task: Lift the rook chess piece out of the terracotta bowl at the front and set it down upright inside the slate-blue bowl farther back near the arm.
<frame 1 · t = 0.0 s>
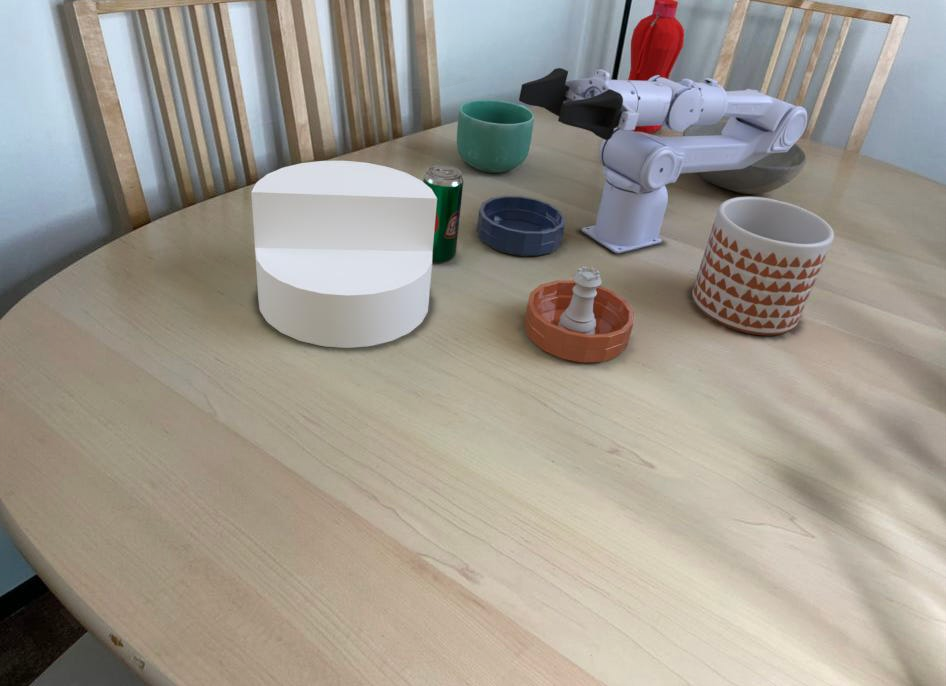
hand: (541, 102, 89), 22 cm above the table, tool horizontal, fingers open, 7 cm apart
planter: (742, 309, 98), on the table
stepped white cylinder: (345, 300, 89), on the table
soda can: (436, 257, 100), on the table
rook chess piece: (575, 332, 88), resting on terracotta bowl
mug: (496, 163, 131), on the table
terracotta bowl: (575, 334, 88), on the table
bowl: (731, 185, 134), on the table
slate bowl: (518, 237, 107), on the table
water bottle: (634, 129, 155), on the table
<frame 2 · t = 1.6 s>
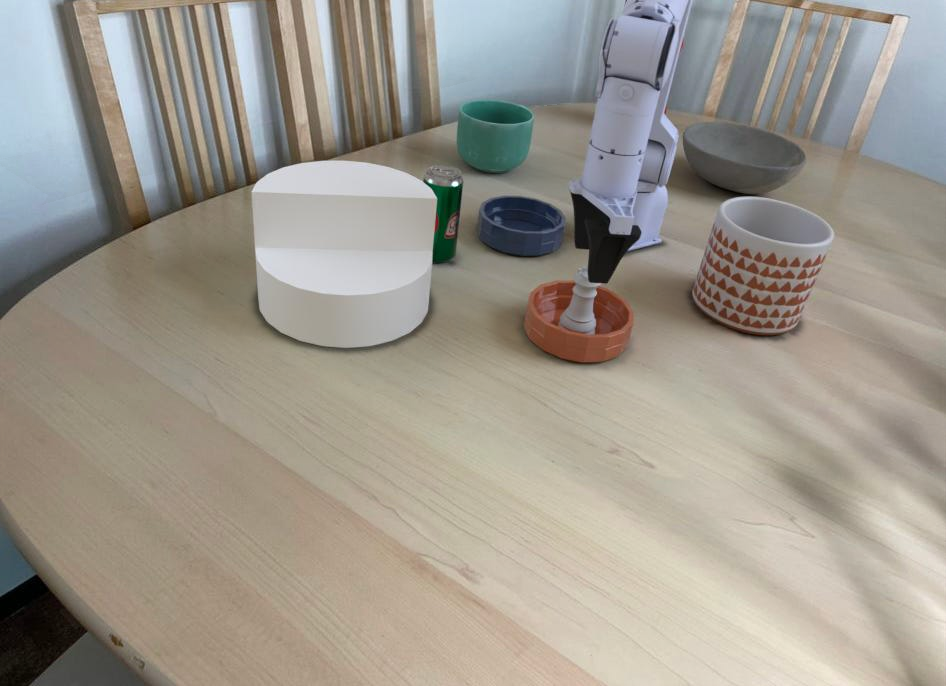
hand: (590, 264, 83), 9 cm above the table, tool pointing down, fingers open, 7 cm apart
nothing on the table moved.
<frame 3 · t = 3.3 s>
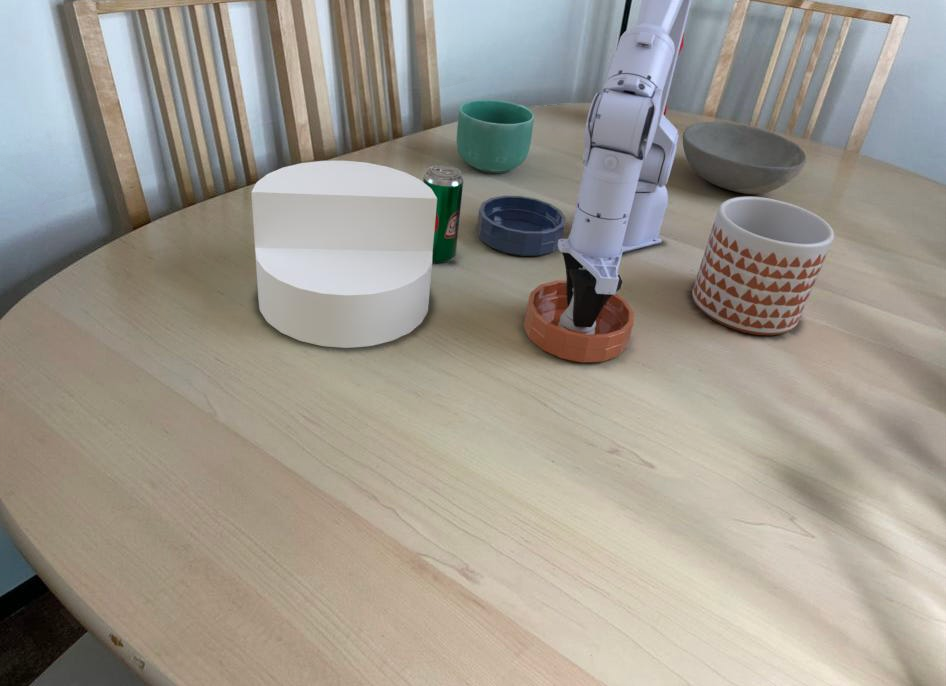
hand: (579, 315, 86), 3 cm above the table, tool pointing down, fingers closed on rook chess piece, 3 cm apart
rook chess piece: (575, 332, 88), resting on terracotta bowl, touching gripper
everything else where it was.
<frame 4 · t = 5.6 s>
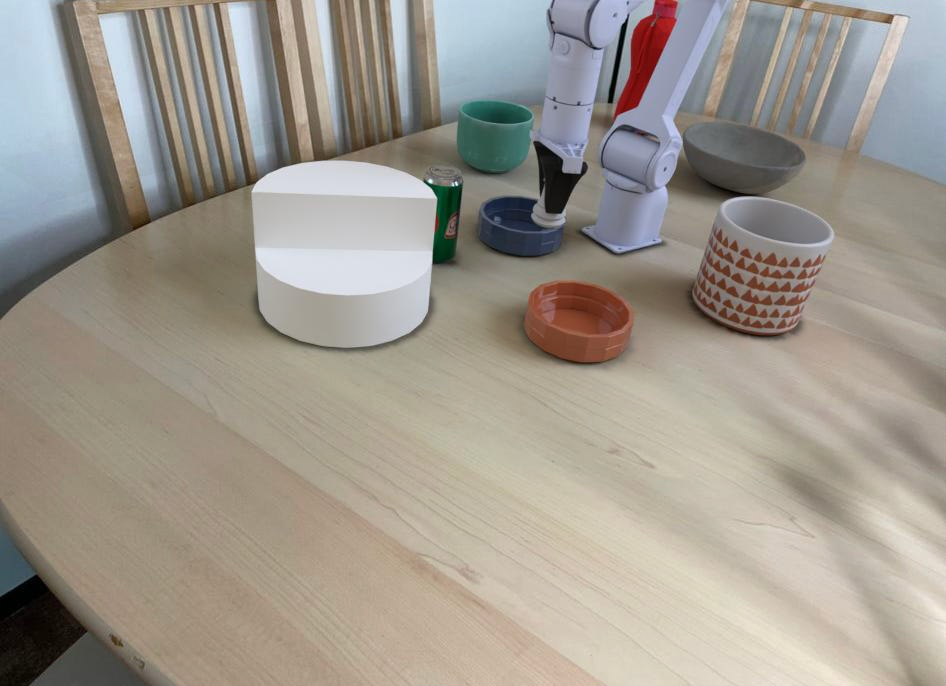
hand: (550, 205, 94), 10 cm above the table, tool pointing down, fingers closed on rook chess piece, 3 cm apart
rook chess piece: (547, 222, 96), point 7 cm above the table, touching gripper
everything else where it was.
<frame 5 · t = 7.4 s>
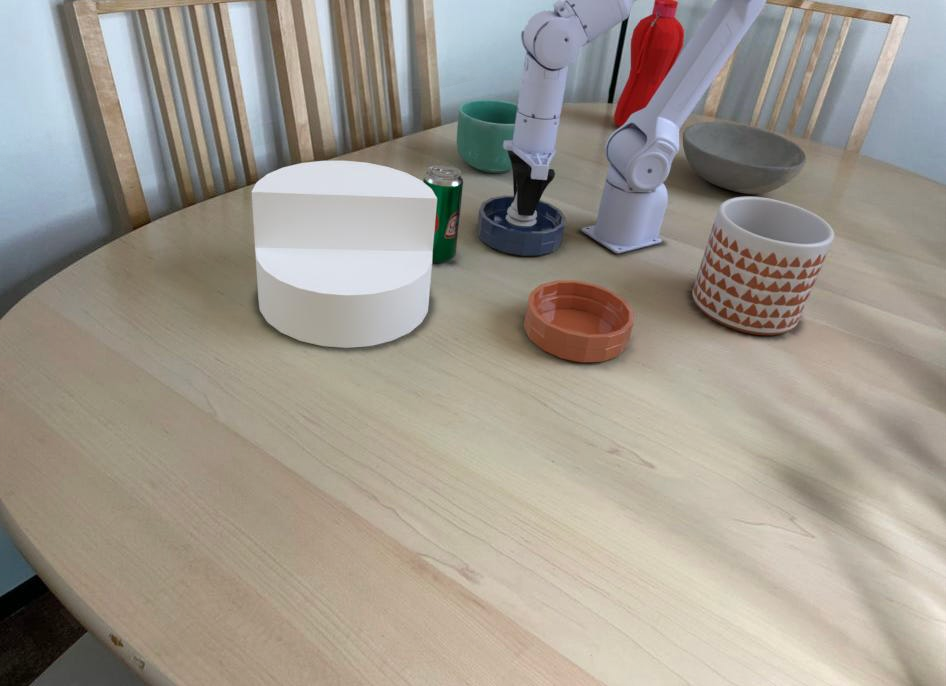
hand: (523, 208, 105), 5 cm above the table, tool pointing down, fingers closed on rook chess piece, 3 cm apart
rook chess piece: (520, 223, 106), point 2 cm above the table, touching gripper
everything else where it was.
when the fingers open (3 cm above the table, at t = 8.4 s): rook chess piece stays where it is, resting on slate bowl.
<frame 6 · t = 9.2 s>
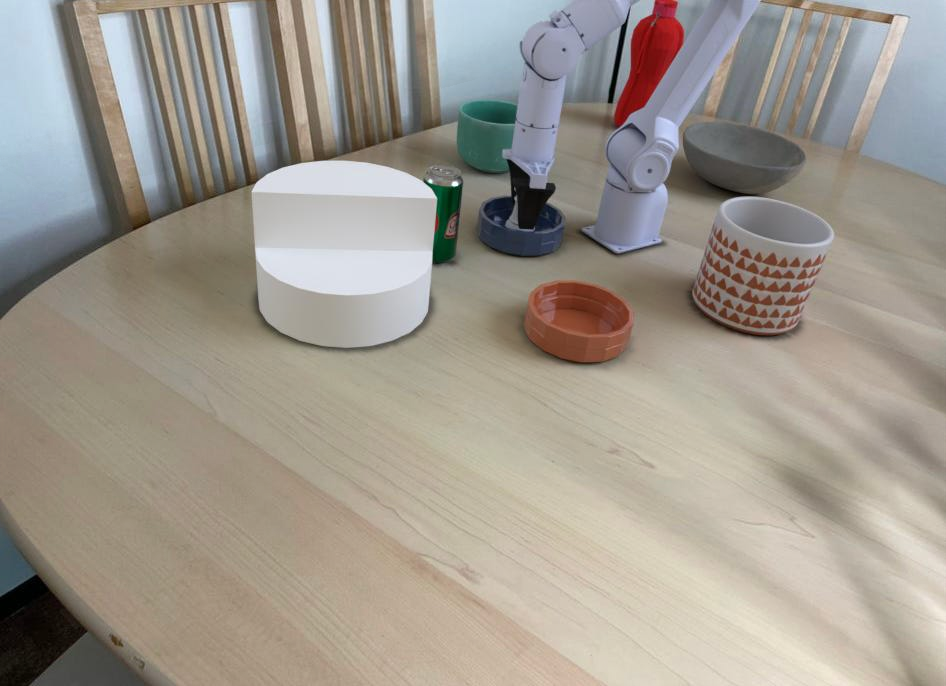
hand: (522, 216, 105), 3 cm above the table, tool pointing down, fingers open, 7 cm apart
rook chess piece: (518, 236, 107), resting on slate bowl
everything else where it was.
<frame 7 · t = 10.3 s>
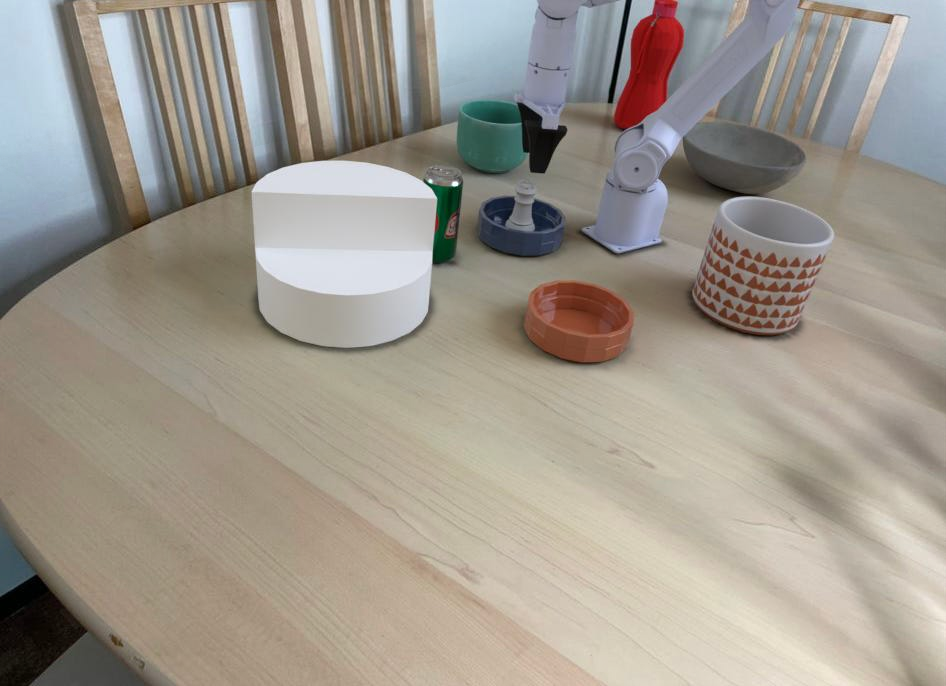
hand: (533, 162, 107), 9 cm above the table, tool pointing down, fingers open, 7 cm apart
nothing on the table moved.
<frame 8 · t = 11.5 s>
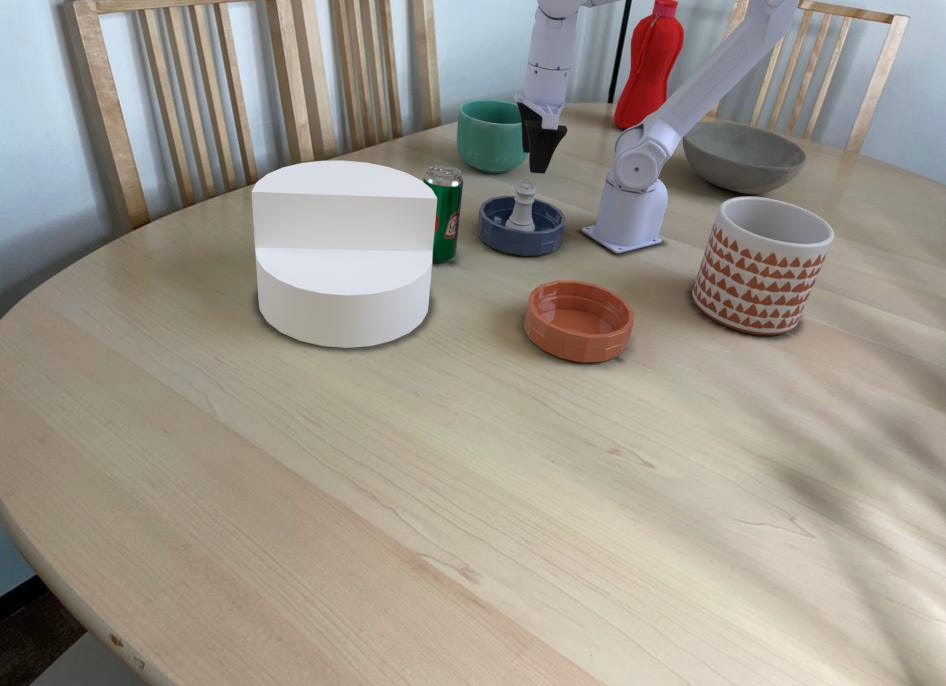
hand: (533, 162, 107), 9 cm above the table, tool pointing down, fingers open, 7 cm apart
nothing on the table moved.
at the end: rook chess piece inside the target area in the slate bowl (0.1 cm from its centre), point 0.2 cm above the slate bowl's base; rook chess piece tilted 0°; the gripper is holding nothing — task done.
